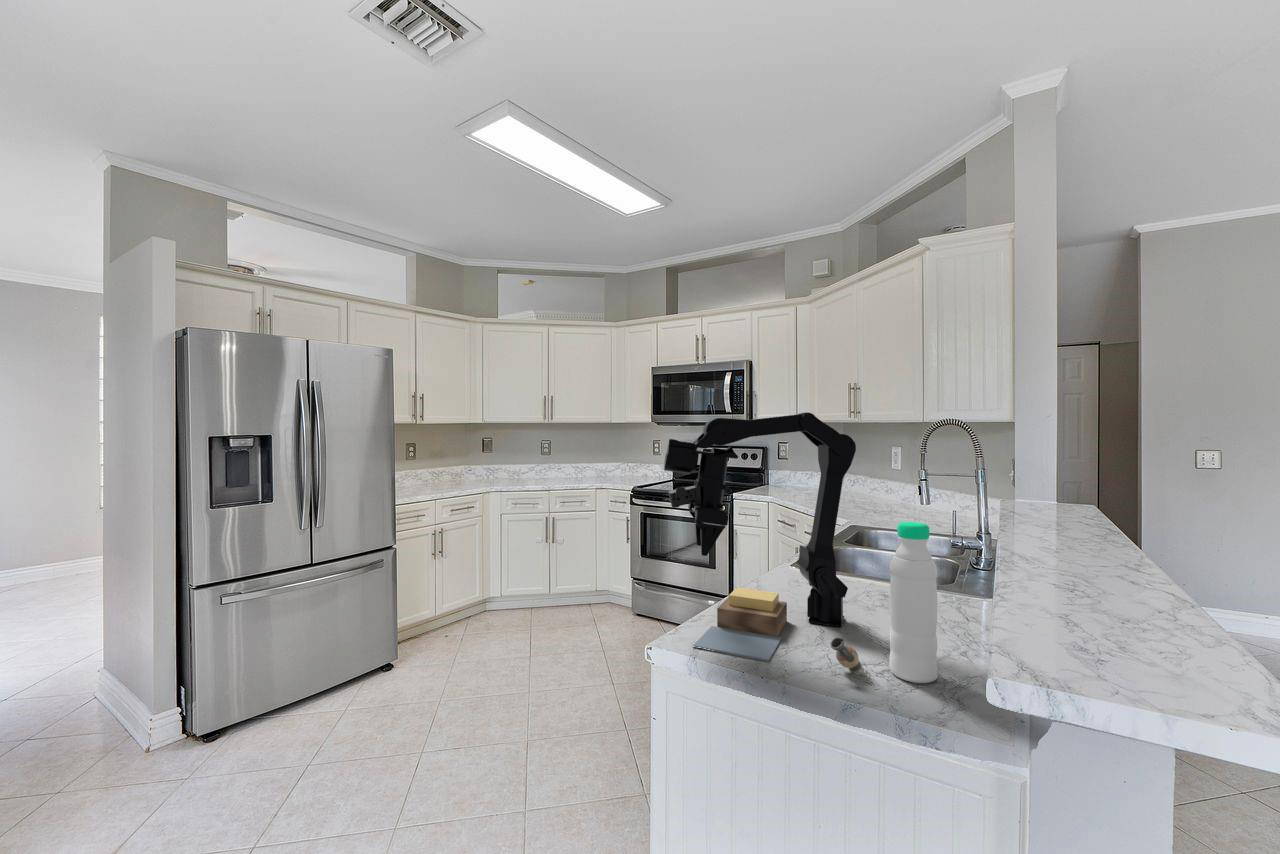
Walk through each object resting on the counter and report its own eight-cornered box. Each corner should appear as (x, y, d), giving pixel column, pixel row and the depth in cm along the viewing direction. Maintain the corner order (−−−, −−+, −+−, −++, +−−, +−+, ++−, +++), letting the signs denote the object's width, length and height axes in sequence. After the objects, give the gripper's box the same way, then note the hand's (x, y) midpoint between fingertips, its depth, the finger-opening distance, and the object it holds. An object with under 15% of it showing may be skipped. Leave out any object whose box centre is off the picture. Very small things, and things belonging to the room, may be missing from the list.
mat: (781, 639, 104) (781, 637, 104) (768, 661, 94) (768, 659, 94) (711, 627, 110) (711, 625, 110) (692, 647, 100) (692, 645, 100)
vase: (841, 682, 87) (839, 644, 87) (823, 670, 92) (821, 634, 93) (871, 679, 88) (869, 641, 88) (852, 667, 93) (850, 631, 94)
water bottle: (881, 666, 93) (881, 520, 93) (920, 664, 93) (920, 519, 93) (904, 685, 86) (905, 527, 86) (947, 684, 86) (947, 527, 86)
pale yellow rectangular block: (778, 602, 114) (778, 593, 114) (772, 611, 108) (772, 601, 108) (736, 596, 118) (736, 587, 118) (728, 604, 112) (728, 595, 112)
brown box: (786, 621, 114) (786, 602, 114) (776, 637, 105) (776, 617, 105) (731, 612, 119) (731, 594, 119) (717, 627, 110) (717, 608, 110)
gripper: (671, 468, 124) (661, 536, 124) (676, 475, 105) (665, 555, 105) (719, 475, 124) (710, 542, 124) (733, 483, 105) (722, 563, 105)
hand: (701, 550), depth 114 cm, fingers open, 9 cm apart
